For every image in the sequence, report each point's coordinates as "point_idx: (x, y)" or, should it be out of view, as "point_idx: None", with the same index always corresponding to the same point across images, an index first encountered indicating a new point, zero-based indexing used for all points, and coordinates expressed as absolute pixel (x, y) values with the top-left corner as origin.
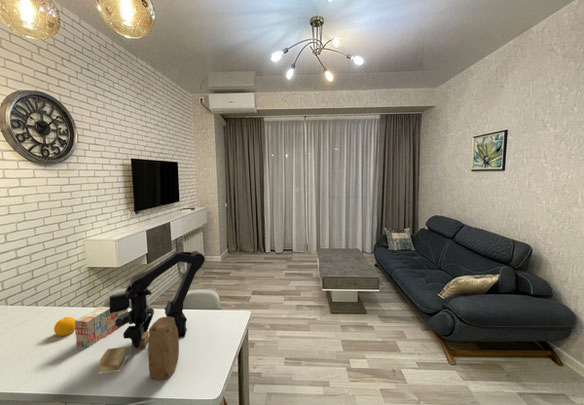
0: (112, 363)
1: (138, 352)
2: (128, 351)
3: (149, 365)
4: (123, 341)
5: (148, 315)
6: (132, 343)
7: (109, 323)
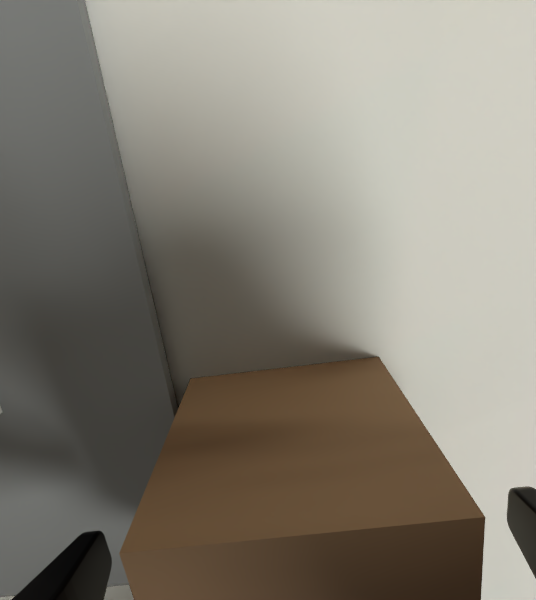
0: None
1: None
2: (180, 331)
3: None
4: (504, 77)
5: None
6: (158, 478)
7: None
